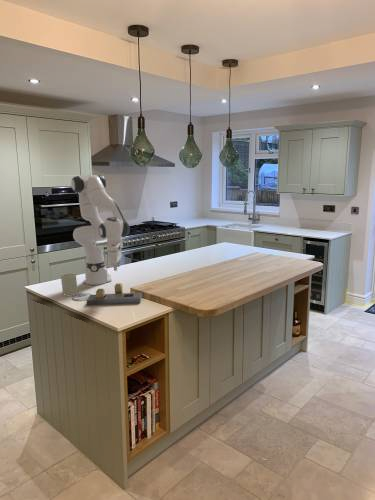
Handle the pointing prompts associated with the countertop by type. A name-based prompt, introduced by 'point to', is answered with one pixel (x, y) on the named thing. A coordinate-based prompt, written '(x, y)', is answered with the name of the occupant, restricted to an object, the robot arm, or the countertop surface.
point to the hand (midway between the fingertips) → (117, 268)
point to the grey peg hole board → (115, 299)
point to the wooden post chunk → (118, 288)
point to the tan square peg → (100, 293)
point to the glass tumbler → (69, 284)
